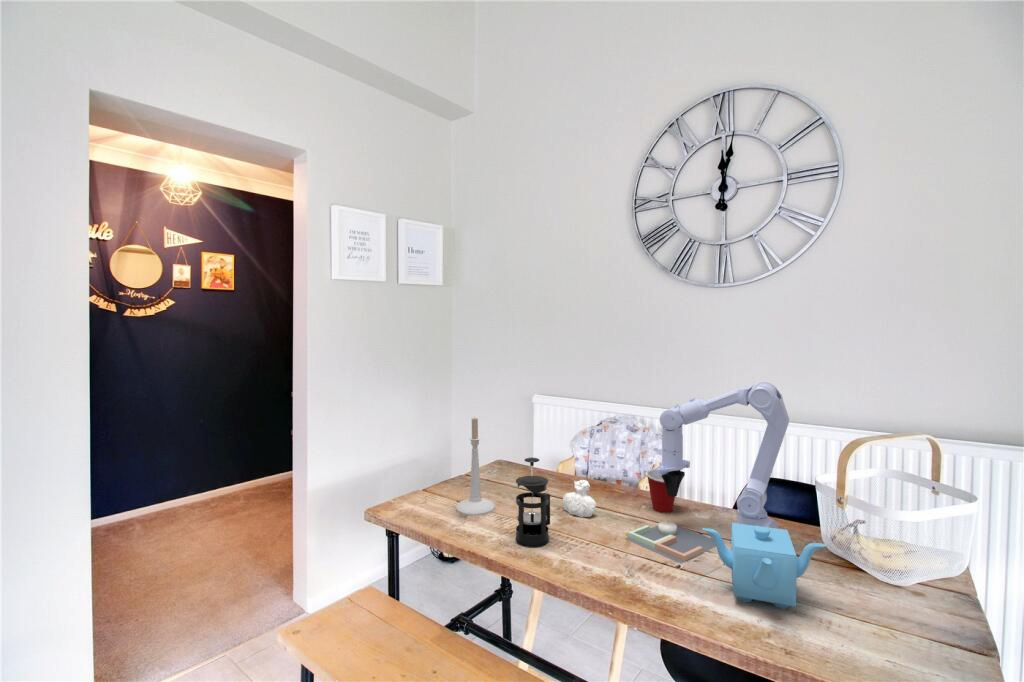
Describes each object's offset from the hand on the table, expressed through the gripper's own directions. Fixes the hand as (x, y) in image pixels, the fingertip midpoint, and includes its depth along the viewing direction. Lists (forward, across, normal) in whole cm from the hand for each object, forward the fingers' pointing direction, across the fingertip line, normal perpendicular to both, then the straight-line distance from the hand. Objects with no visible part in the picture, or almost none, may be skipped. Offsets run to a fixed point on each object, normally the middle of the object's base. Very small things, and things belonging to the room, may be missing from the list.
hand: (672, 496), depth 148 cm
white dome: (+9, +4, +1) cm, 10 cm away
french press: (+10, +36, -20) cm, 42 cm away
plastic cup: (+10, -10, -10) cm, 17 cm away
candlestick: (+10, +36, -50) cm, 62 cm away
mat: (+10, +8, +6) cm, 14 cm away
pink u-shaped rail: (+10, +12, +10) cm, 18 cm away
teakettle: (+10, +15, +34) cm, 38 cm away
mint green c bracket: (+10, +12, +1) cm, 15 cm away
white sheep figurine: (+10, +12, -25) cm, 30 cm away
